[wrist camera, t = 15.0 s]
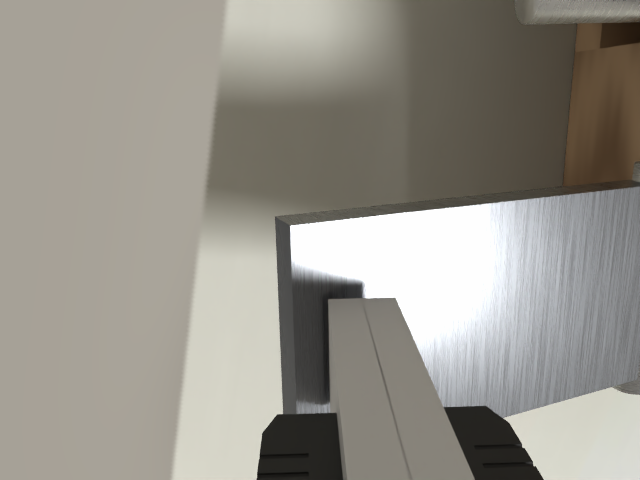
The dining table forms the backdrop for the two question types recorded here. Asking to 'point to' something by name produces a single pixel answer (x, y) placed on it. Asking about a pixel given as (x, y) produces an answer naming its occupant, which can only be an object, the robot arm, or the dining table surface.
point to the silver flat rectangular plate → (475, 292)
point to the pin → (577, 11)
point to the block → (604, 104)
